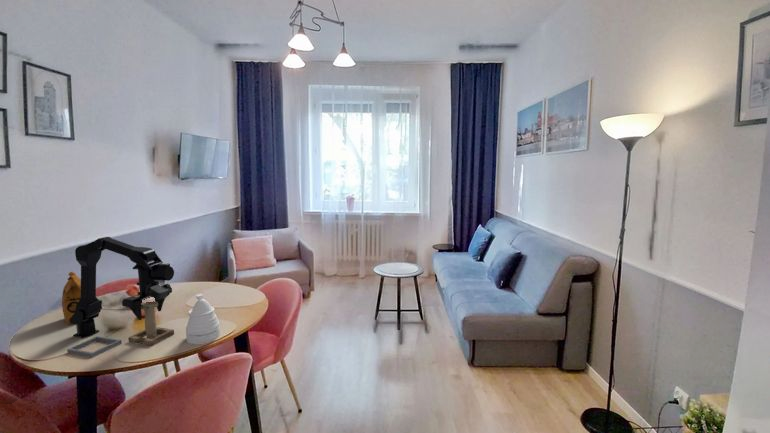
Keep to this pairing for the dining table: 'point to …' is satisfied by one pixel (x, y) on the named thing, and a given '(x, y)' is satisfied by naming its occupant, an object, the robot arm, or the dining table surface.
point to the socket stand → (145, 341)
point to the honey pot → (202, 323)
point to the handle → (150, 319)
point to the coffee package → (71, 296)
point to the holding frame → (91, 354)
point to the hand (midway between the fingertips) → (150, 315)
